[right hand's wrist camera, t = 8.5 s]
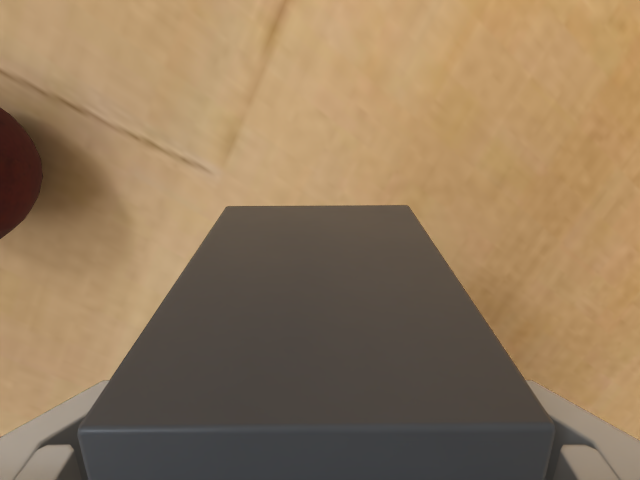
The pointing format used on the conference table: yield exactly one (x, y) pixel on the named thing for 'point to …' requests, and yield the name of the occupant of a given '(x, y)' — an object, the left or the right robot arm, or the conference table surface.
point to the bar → (317, 363)
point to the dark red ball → (17, 173)
